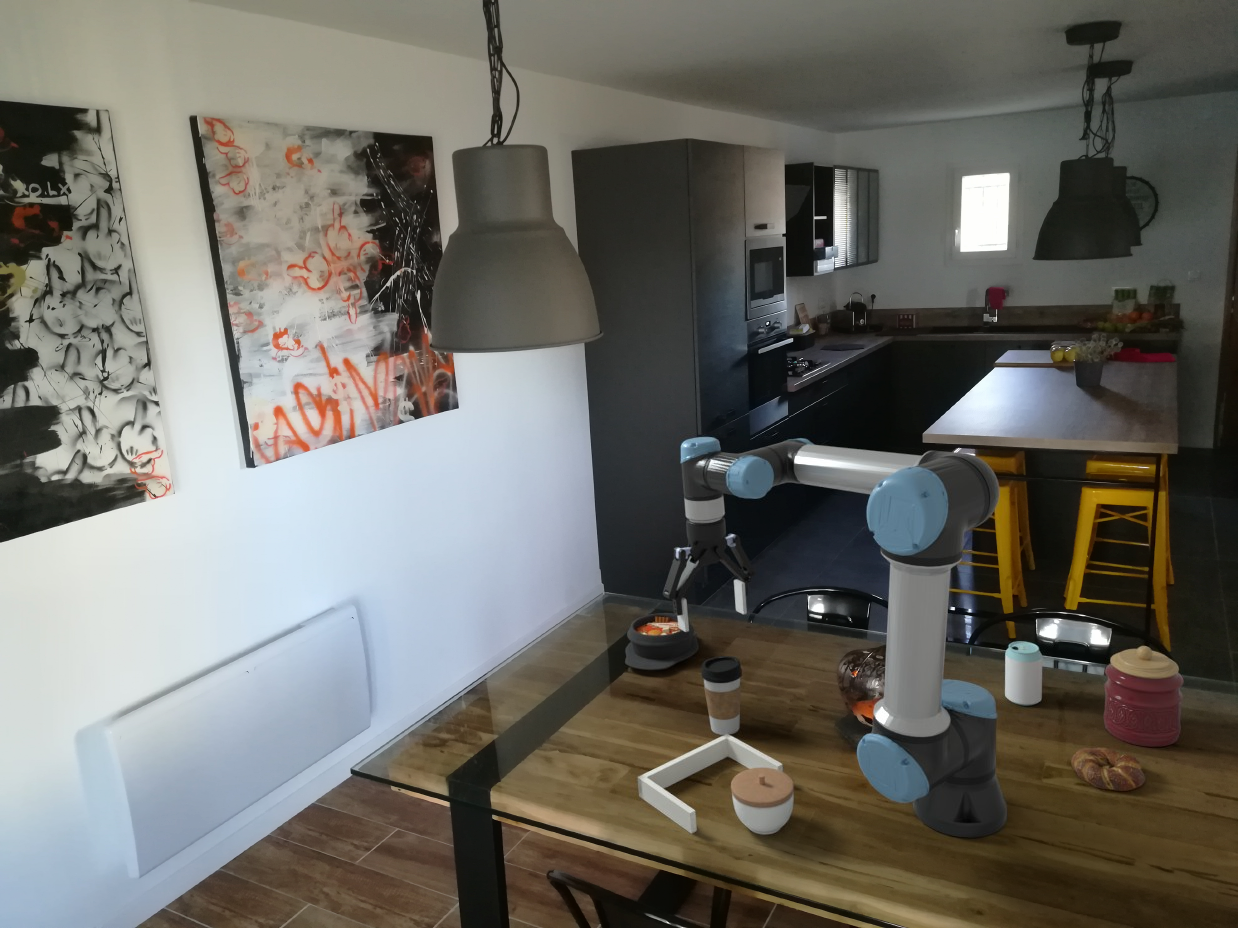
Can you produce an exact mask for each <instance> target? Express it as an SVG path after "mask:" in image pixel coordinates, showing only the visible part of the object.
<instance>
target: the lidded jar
mask: <svg viewBox="0 0 1238 928" xmlns="http://www.w3.org/2000/svg"><path fill="white" fill-rule="evenodd" d="M794 786H795V785H794V781H793V780H792V778H791V776H789V775H788V774H786V773H785V772H784V771H783V772H782V771H779V770H776V769H772V768H752V769H749V768H747V769H744V770H743V771H741V772H739V773H737V774H736V775H735V776H734V777H733V778H732V780H731V782H730V791H731V796H732V803H733V808H734V812H735V814H736V815H737V818H738V819H739V820H740V822H741V824H743V825H745V827H747V829H748V830H749V831H751V832H752V833H754V834H757V835H763V836H765V835H766V836H767V835H773V834H776V833H777V832H779V831H780V830H781V828H783V826H785V825H786V823H788V822H789V819H790V817H791V815H792V812H793V808H794V791H795V787H794Z"/></svg>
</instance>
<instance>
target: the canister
mask: <svg viewBox="0 0 1238 928" xmlns="http://www.w3.org/2000/svg"><path fill="white" fill-rule="evenodd" d="M1179 670H1180V669H1179V665H1178V664H1177V663H1176V662H1175V661H1174V660H1173V659H1171V658H1169V657H1168V656H1166V655H1165V654H1163V653H1161V652H1159V651H1155V650H1152V649H1151V648H1150V647H1149V646H1146V645H1141V646H1138V647H1137V648H1129V649H1125V650H1122V651H1120V652H1117V653H1115V654H1113V655H1112V656H1111V657H1110V663H1109V664H1108V665H1107V666H1106V667H1105V671H1104V672H1105V673H1104V674H1105V675H1106V677H1107V681H1106V682H1105V683H1104V690H1105V691H1104V692H1105V695H1104V696H1105V697H1104V712H1103V723H1104V727H1105V730H1107V732H1109V734H1110V735H1112V736H1113V737H1114V738H1117V739H1118V740H1120V741H1123V742H1126V743H1129V744H1131V745H1134V746H1136V745H1137V746H1141V747H1148V748H1149V747H1150V748H1151V747H1152V748H1155V747H1156V748H1157V747H1160V748H1161V747H1166V746H1170V745H1172V744H1174V743H1176V742H1178V739H1179V737H1180V734H1181V730H1182V729H1181V728H1182V724H1181V709H1182V702H1183V699H1184V697H1183V693H1182V692H1181V689H1180V688H1181V687H1182V686H1183V685H1184V678H1183V677H1182V675H1181V673H1179Z"/></svg>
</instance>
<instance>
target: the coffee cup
mask: <svg viewBox="0 0 1238 928" xmlns="http://www.w3.org/2000/svg"><path fill="white" fill-rule="evenodd" d="M700 672H701V675H700V676H701V678H702V679H703V689H704V693H705V695H704V696H705V699H706V706H707V710H708V717H709V723H710V728H711V731H712V732H713V733H714V734H716V735H720V736H724V735H726V734H729V735H733V734H736V733H737V732H738V731H739V730H740V713H741V691H742V682H741V677H742V675H743V668H742V666H741V662H740V659H739V658H737V657H735V656H730V655H729V656H728V655H726V656H725V655H723V656H722V655H721V656H715V657H711V658H707V659H706V660H704V661H703V662H702V665H701V670H700Z"/></svg>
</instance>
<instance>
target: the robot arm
mask: <svg viewBox="0 0 1238 928" xmlns="http://www.w3.org/2000/svg"><path fill="white" fill-rule="evenodd" d="M720 444H721V443H720V441H719V439H717V438H716V437H710V436H702V437H693V438H688V439H686V440H684V441H682V442H681V445H680V466H681V475H682V485H683V486H682V487H683V495H684V496H683V497H684V498H683V499H684V510H685V517H686V518H687V519H686V521H685V523H686V524H685V525H686V537H687V540H688V545H687V547H678V546H675V547H674V548H673V560H672V562H671V563H672V564H671V567H670V569H669V573H668V575H667V579H666V582H665V585H664V587H663V591H662V596H663V597H665V598H667V599H669V600H672V610H673V614H676V615H677V616H678V628H680V629H681V630H683V631H685V632H687V631H689V625H688V620H689V613H688V604H687V603H688V602H687V599H686V598H685V597H684V596H685V595H686V593H687V591H688V589H689V587H690V586H691V584H692V582H693V580H694V578H695V577H696V575H697V573H698V572H699V571H701V569H702V567H707V566H710V565H712V564H714V565H715V564H718V563H719V562H721V563H722V564H723V565H724V566H725V567H726V568H727V569H728V570H729V571H730V572H731V573H732V574H733V575H734V576H735V577H736V578H737V579H734V580H733V586H734V587H733V588H734V600H735V602H734V603H735V611H736V612H738V613H740V614H741V615H747V614H748V613H747V612H748V611H747V610H748V609H747V596H749V583H750V582H751V580H752V578H751V577H755V576H756V574H757V571H756V570H755V568H754V566H753V564H752V563H751V561H750V559H749V557H748V556H747V553H746V552H745V550H744V549H743V547H742V543H741V537H740V536H739V535H737V534H733V533H731V532H730V533H729V534H727V530H726V518H725V517H724V516H725V514H726V512H725V501H724V499H725V498H724V494H726V495H731V496H736V497H738V498H743V499H761V498H763V497H765V496H766V495H767V493H768V492H769V491H771V489H772V488H773V487H775V486H779V485H781V484H786V483H794V484H799V485H809V486H814V487H821V488H822V487H823V488H826V489H827V488H828V489H834V490H839V491H840V490H841V491H846V492H854V493H859V494H865V495H869V498H868V502H867V505H866V520H867V521H866V522H867V525H868V530H869V532H872V533H873V539H874V541H875V542H876V543H877V544H878V545H879V546H880V554H881V556H883V558H885V559H886V560H887V562H889V563H890V564H889V583H888V585H889V586H888V604H887V605H888V609H887V610H888V611H887V625H886V626H887V628H886V629H887V630H886V649H885V665H884V666H885V668H884V690H883V698H881V699H879V700H878V701H877V702H876V703H875V704H874V706H873V711H872V712H873V713H872V730H871V732H870V733H866V734H865V735H863V737H862V738H861V739H860V741H859V742H858V744H857V749H856V756H857V760H858V765H859V767H860V770H861V772H862V774H863V775H864V777H865V778H866V779H867V780H868V782H869V784H870V785H871V786H872V787H873V788H874V789H875V790H876V791H877V792H878V793H879V794H880V795H882V796H883V797H885V798H887V799H889V800H891V801H893V802H896V803H901V804H908V803H912V808H913V811H914V813H915V816H917V818H918V819H919V820H920V821H921V822H922V823H923V824H924V825H925V826H927V827H929V828H931V829H932V830H933V831H934V830H935V831H937V832H939V833H942V834H945V835H949V836H953V837H958V838H972V839H973V838H981V837H988V836H989V835H990V836H991V835H994V834H996V832H999V831H1000V830H1001V829H1002V828H1003V827H1004V826H1005V825H1006V823H1007V819H1008V817H1007V816H1008V815H1007V814H1008V813H1007V812H1008V809H1007V807H1008V806H1007V802H1006V799H1005V797H1004V794H1003V791H1002V788H1001V786H1000V782H999V779H998V777H997V772H996V771H997V770H996V767H997V766H996V765H997V759H996V758H997V719H998V713H997V707H996V704H997V703H996V700H995V697H994V696H993V695H992V693H991V692H990V691H989V690H987V689H986V688H984V687H982V686H980V685H978V684H974V683H971V682H968V681H964V680H958V679H945V678H944V669H945V668H944V667H945V666H944V665H945V655H946V639H947V627H948V626H947V625H948V623H947V622H948V609H949V595H950V583H951V582H950V581H951V569H952V568H954V567H955V566H956V565H958V564H960V562H961V561H962V560H963V551H964V550H963V549H964V541H965V540H964V538H965V532H967V531H969V530H972V529H974V528H976V527H978V526H980V525H981V524H983V523H985V522H986V521H987V520H988V519H989V518H990V517H991V516H992V515H993V513H994V512H995V510H996V508H997V505H998V503H999V499H1000V484H999V481H998V478H997V476H996V474H995V472H994V470H993V469H992V468H991V467H990V465H989V464H988V463H986V462H985V461H984V460H983V459H981V458H980V457H977V456H975V455H973V454H970V453H963V452H953V451H952V452H951V451H940V450H928V451H926V452H925V453H923V455H919V454H918V455H917V454H907V453H899V452H898V453H897V452H888V451H878V450H877V451H876V450H867V449H860V448H859V449H857V448H850V447H849V448H848V447H839V446H838V447H837V446H829V445H818V444H814V443H813V442H811V441H810V440H809V439H807V438H801V437H800V438H793V439H792V438H791V439H787V440H784V441H782V442H779V443H775V444H771V445H768V446H764V447H760V448H757V449H752V450H749V451H745V452H742V453H741V452H739V453H732V452H731V453H729V452H724V451H722V450H721V449H722V448H721V445H720ZM727 546H728V547H729V548H730V549H731V552H732V554H733V555H734V557H735V558H736V560H737V562H738V564H739V565H740V566H739V565H737V564H736V563H735V562H734V561H733V560H732V559H731V557H730V556H729V555H728V554H727V553H726V552H725V551H726V549H727ZM688 556H689V557H688ZM686 559H687V562H686ZM685 565H686V566H685ZM740 567H741V568H740Z"/></svg>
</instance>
